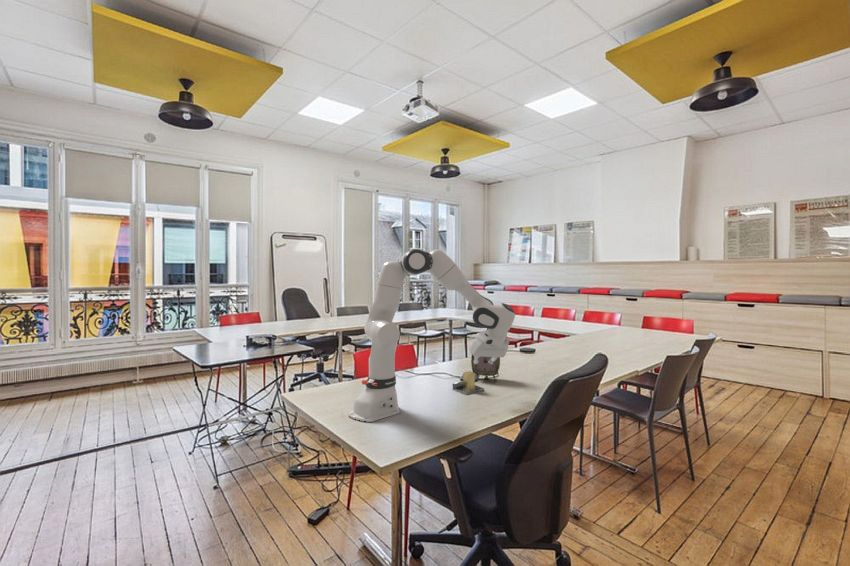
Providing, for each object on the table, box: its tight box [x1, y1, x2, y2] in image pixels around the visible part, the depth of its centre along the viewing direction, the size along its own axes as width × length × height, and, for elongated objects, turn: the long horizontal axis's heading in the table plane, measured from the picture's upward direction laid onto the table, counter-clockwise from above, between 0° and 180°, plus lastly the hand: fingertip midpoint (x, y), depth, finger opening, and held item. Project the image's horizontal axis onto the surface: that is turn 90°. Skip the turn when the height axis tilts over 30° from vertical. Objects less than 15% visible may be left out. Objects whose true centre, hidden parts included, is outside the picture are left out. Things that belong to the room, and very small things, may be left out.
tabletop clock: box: [470, 354, 501, 382], centre depth 213 cm, size 14×9×25 cm, turn 73°
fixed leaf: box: [452, 380, 485, 396], centre depth 195 cm, size 10×12×4 cm
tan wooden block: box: [462, 370, 476, 390], centre depth 194 cm, size 4×4×8 cm
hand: (482, 363), depth 183 cm, fingers open, 8 cm apart
